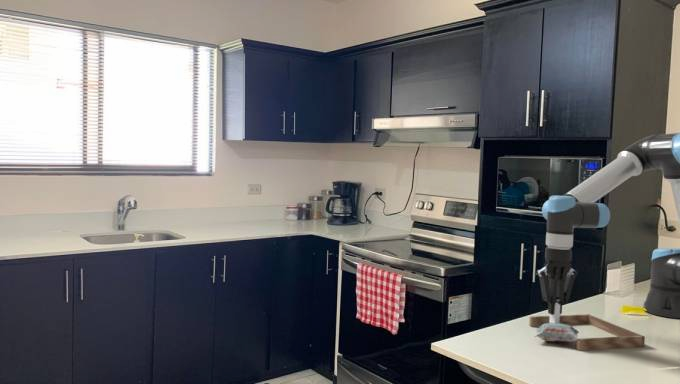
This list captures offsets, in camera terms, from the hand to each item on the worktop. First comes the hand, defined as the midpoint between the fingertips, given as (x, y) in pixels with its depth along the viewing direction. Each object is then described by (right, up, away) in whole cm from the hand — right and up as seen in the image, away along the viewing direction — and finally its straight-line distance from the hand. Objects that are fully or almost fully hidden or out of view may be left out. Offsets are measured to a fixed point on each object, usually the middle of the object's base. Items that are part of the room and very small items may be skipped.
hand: (554, 324), depth 166 cm
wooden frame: (+10, -4, +2) cm, 11 cm away
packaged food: (-5, -5, -6) cm, 9 cm away
